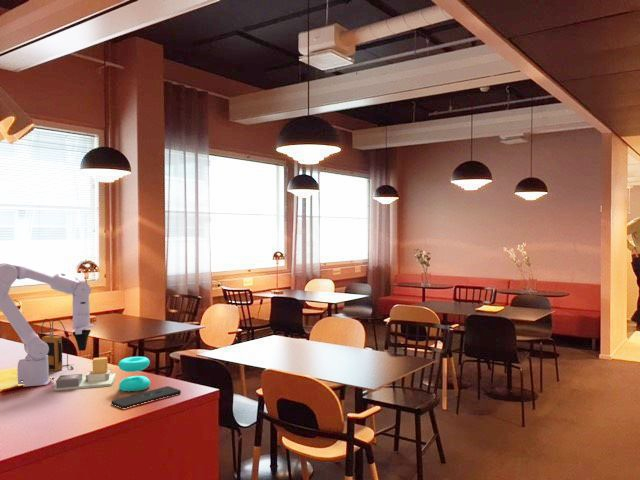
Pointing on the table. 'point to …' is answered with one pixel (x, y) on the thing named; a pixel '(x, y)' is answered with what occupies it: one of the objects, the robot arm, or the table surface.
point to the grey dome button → (69, 381)
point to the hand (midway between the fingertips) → (82, 350)
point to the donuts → (135, 381)
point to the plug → (100, 365)
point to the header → (98, 376)
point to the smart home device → (145, 397)
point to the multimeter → (54, 350)
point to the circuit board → (91, 383)
